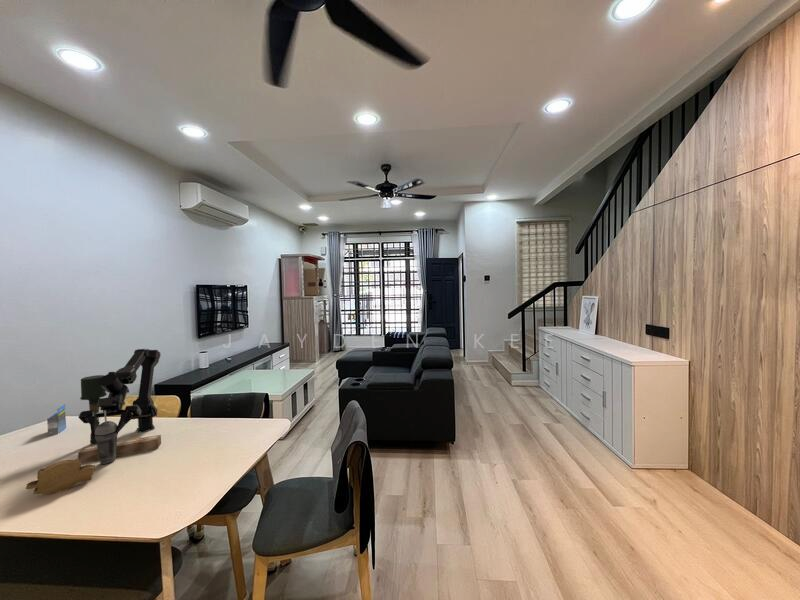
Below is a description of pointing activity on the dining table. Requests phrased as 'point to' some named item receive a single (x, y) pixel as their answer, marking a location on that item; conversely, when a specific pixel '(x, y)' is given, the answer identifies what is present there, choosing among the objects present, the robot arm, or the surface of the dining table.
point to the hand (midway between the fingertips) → (104, 434)
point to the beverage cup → (106, 440)
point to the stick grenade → (92, 395)
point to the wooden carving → (61, 476)
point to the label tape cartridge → (57, 421)
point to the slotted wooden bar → (122, 447)
